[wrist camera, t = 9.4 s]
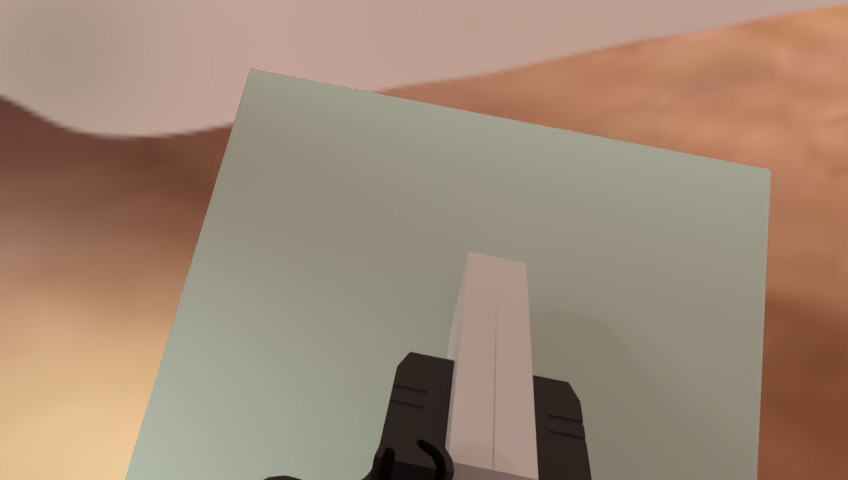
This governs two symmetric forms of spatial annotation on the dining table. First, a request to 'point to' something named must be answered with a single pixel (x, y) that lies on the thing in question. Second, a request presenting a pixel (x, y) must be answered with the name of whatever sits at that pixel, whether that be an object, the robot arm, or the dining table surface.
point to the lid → (456, 287)
